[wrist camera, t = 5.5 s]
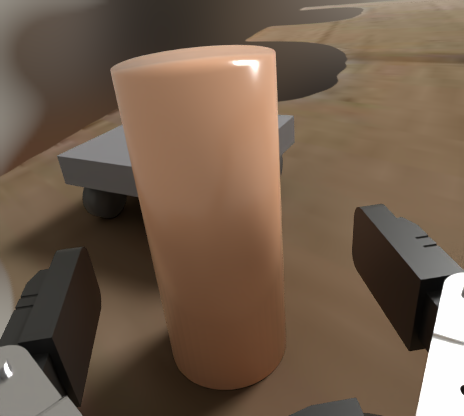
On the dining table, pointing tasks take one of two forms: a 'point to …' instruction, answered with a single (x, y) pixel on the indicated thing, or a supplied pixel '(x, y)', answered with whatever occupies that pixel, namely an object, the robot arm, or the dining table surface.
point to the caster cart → (122, 168)
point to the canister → (211, 203)
